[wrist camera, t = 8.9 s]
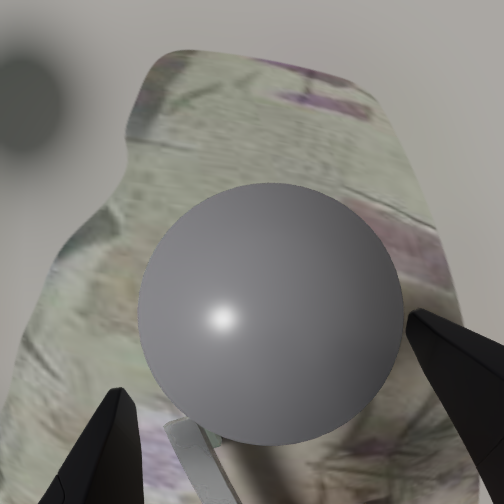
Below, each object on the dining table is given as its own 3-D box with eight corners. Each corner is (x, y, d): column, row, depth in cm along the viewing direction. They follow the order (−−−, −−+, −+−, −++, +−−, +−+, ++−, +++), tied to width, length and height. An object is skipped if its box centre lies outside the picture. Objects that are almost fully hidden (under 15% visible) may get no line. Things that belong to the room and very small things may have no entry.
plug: (335, 366, 17) (497, 383, 4) (223, 416, 16) (171, 545, 4) (286, 259, 19) (348, 98, 6) (176, 305, 18) (45, 211, 5)
